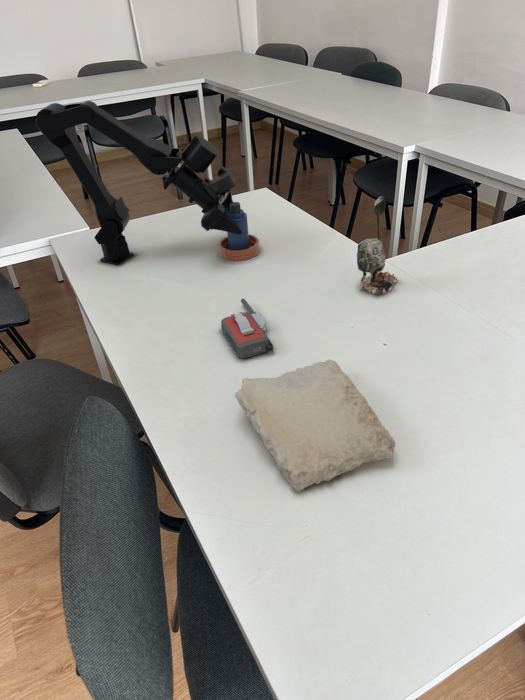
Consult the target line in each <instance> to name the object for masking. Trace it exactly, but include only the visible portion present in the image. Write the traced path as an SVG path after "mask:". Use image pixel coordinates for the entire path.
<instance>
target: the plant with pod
mask: <svg viewBox="0 0 525 700" xmlns="http://www.w3.org/2000/svg"><path fill="white" fill-rule="evenodd" d="M386 207H387V203H386V198H385V197H384V196H383V195H380V196H379V197H378V198H377V199H376V200H375V201H374V203H373V213H374V215H376V223H377V224H376V226H377V227H376V231H377V232H376V234H377V237H373V238H366V239H363V240H362V241H359V239H356V241H357V242H359V243H358V244H357V253H356V264H357V269H358V270H359V271H360V272H362V277H361V280H360V285H359V290H363V291H364V292H367V293H369V294H373V295H385V293H387V292H389V291H390V290H392V289H393V287H394V286H395V284H396V282H398V281H399V280H398V278H397V276H395V274H394V273H393V274H391V273H390V272H389V271H384V272H383V270H384V269H385V267H386V252H385V248H384V245H383V242H382V241H381V239H380V225H379V224H380V216H381V215H382V214H384V212H385V211H386ZM367 273H369V274H370V275H368V276H367Z"/></svg>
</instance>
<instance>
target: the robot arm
mask: <svg viewBox="0 0 525 700" xmlns="http://www.w3.org/2000/svg"><path fill="white" fill-rule="evenodd" d="M35 124H36V127H37V129H38V130H39V131H40V132H41V134H42V135H43V136H44V137H45V139H46V140H47V141H48V142H49V143H51V145H53V146H54V147H56V149H58V150H60V152H61V153H62V155H63V156H64V158H65V160H66V162H67V163H68V164H69V167H70V168H71V170H72V171H73V173H74V174H75V176H76V177H77V180H78V181H79V182H80V184H81V186H82V187H83V189H84V190H85V192H86V193H87V195H88V197H89V198H90V200H91V201H92V203H93V206H94V210H95V214H96V220H97V222H98V223H99V227H100V228H99V230H98V231H97V233H96V234H95V236H94V237H93V238H94V240H95V241H96V242H97V244H98V245H100V246H101V250H102V254H103V257H101V258H100V262H101V263H107V264H111V265H116V266H121V264H123V263H124V262H126V261H128V260H129V259H130V258H132V257H134V255H135V254H134V253H133V252H130V249H129V244H128V242H127V240H126V236H125V235H124V234H123V232H124V231H125V229H126V228H127V226H128V224H129V222H130V218H131V217H130V210H131V209H129V208H128V207H127V205H126V204H125V202H124V199H123V198H122V197H121V196H120V197H118V198H116V197H115V196H113V195H112V194H111V193H110V191H109V190H108V189H107V188H108V187H106V185H105V183H104V181H103V180H102V178H101V177H100V175H99V173H98V172H97V170H96V168H95V166H94V165H93V163H92V161H91V160H90V158H89V156H88V155H87V153H86V151H85V150H84V148H83V146H82V145H81V143H80V141H79V138H78V133H77V130H76V129H77V127H76V126H79V125H83V124H87V125H88V126H90V127H91V128H92V129H95V130H96V131H98V132H99V133H101V134H103V135H104V136H106V137H107V138H109V139H110V140H112V141H113V142H115V143H116V144H117V145H120V146H121V147H123V148H124V149H125V150H127V151H129V152H130V153H132V154H133V156H134V157H136V159H137V160H138V162H139V163H140V164H141V165H142V166H143V167H144V168H145V169H147V170H148V171H149V172H150V173H152V174H153V175H155V176H162V175H163V176H162V177H161V181H162V184H163V189H164V190H168V188H169V187H170V185H172V186H174V187H175V188H176V189H177V190H179V191H180V193H182V194H183V195H184V196H186V197H187V198H188V200H187V202H188V203H190V204H193V203H195V204H196V205H197V206H198V207H200V208H201V209H202V210H201V213H202V214H203V215H202V216H201V219H200V226H201V228H203V229H204V230H206V232H209V231H210V230H211V231H213V230H215V231H222V232H226V233H227V232H230V233H234V234H238V235H240V234H241V233H242V230H241V229H240V228H239V227H238V226H237V225H236V224H235V223H234V221H233V220H232V219H231V218H230V217H229V216H228V211H229V210H230V203H232V202H234V200H233V190H232V189H234V188H235V187H236V183H237V179H236V177H235V176H234V172H233V171H232V170H230V168H227V167H225V166H221V167H219V168H218V169H217V175H216V176H214V178H212V179H210V178H209V177H207V176H205V177H204V178H202V176H200V175H199V174H200V173H201V174H202V173H203V174H204V173H206V172H207V170H208V169H209V167H210V166H211V165H212V164H213V162H214V161H215V160H216V159H217V158H218V156H219V154H220V152H219V149H217V147H216V146H215V145H214V144H213V143H212V142H211V141H210V140H207V139H205V138H204V137H201V136H199V135H198V134H194V135H193V137H192V138H191V140H190V142H189V144H188V145H187V146H186V147H185V148H178V147H171V146H170V145H169V144H166V143H165V142H162V141H160V140H158V139H156V138H151V137H147V136H144V135H142V134H141V133H139V132H137V131H136V130H135V129H133V128H131V127H130V126H128V125H127V124H126V123H124V122H123V121H121V120H119V119H118V118H116V117H115V116H113V115H112V114H110V113H109V112H107V111H106V110H104V109H102V108H101V107H100V106H98V105H97V103H95V102H94V101H92V100H86V101H84V102H83V101H82V102H77V103H76V102H75V103H69V104H65V105H64V104H61V103H57V102H53V103H50V104H49V105H47V106H45V107H43V108H42V109H40V110H39V111H37V113H36V116H35ZM182 161H183V162H182ZM179 165H180V166H179ZM169 170H170V172H169ZM167 173H168V174H167ZM227 192H228V193H227Z"/></svg>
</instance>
